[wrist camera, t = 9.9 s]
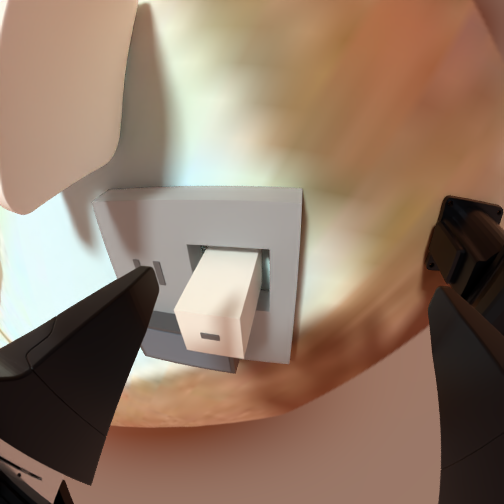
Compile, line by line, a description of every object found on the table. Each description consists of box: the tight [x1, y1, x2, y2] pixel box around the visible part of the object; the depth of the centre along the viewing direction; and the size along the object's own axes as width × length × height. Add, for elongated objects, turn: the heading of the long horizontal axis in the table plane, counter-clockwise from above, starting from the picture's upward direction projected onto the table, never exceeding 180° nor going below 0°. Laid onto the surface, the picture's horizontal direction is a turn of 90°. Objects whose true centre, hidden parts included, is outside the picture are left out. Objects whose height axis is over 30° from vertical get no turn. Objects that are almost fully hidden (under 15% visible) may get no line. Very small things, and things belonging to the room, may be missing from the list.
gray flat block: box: [140, 310, 240, 374], centre depth 25 cm, size 10×6×2 cm, turn 92°
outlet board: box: [92, 186, 302, 364], centre depth 24 cm, size 16×17×3 cm
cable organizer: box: [0, 0, 138, 215], centre depth 11 cm, size 15×11×12 cm
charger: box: [174, 246, 262, 359], centre depth 20 cm, size 4×4×8 cm
